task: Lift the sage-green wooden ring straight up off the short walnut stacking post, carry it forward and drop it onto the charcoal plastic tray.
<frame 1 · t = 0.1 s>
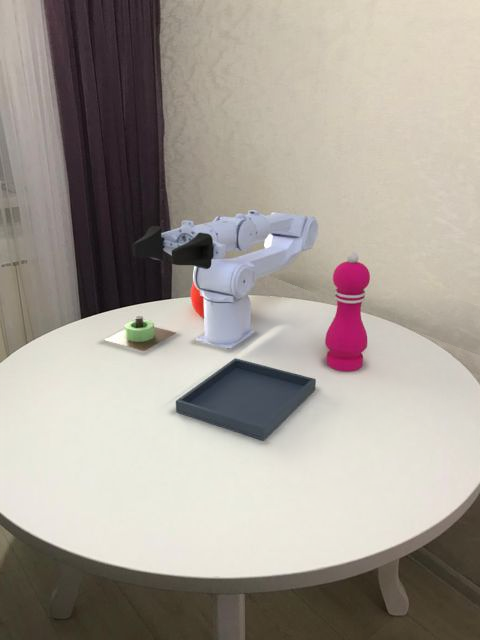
hand: (153, 254, 90), 22 cm above the table, tool horizontal, fingers open, 7 cm apart
tomato: (217, 316, 125), on the table
pepper mill: (344, 364, 104), on the table
ring: (140, 336, 114), point 1 cm above the table, touching stand
tray: (247, 400, 92), on the table
stand: (140, 339, 114), on the table
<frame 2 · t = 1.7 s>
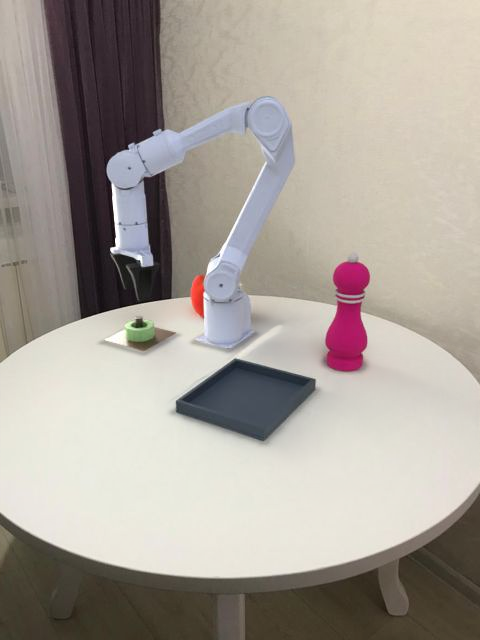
hand: (136, 294, 110), 9 cm above the table, tool pointing down, fingers open, 7 cm apart
nothing on the table moved.
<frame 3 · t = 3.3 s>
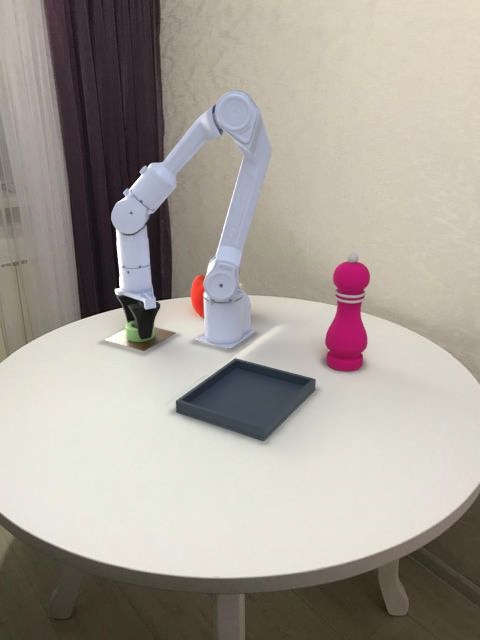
hand: (140, 332, 114), 1 cm above the table, tool pointing down, fingers closed on ring, 5 cm apart
ring: (140, 336, 114), point 1 cm above the table, touching gripper, stand
everything else where it was.
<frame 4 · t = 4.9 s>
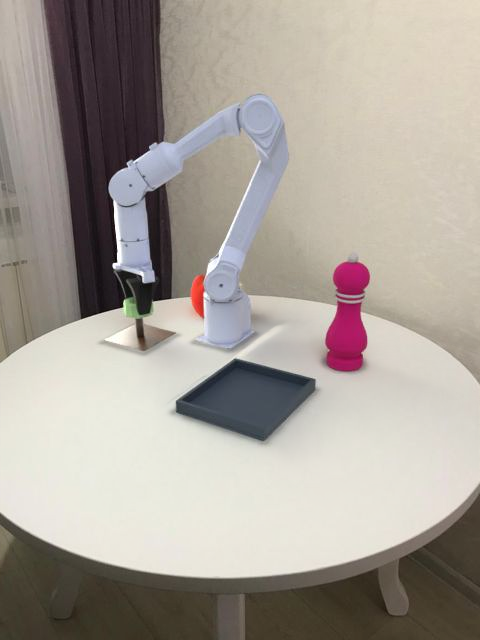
hand: (138, 308, 112), 6 cm above the table, tool pointing down, fingers closed on ring, 5 cm apart
ring: (139, 312, 112), point 5 cm above the table, touching gripper
everything else where it was.
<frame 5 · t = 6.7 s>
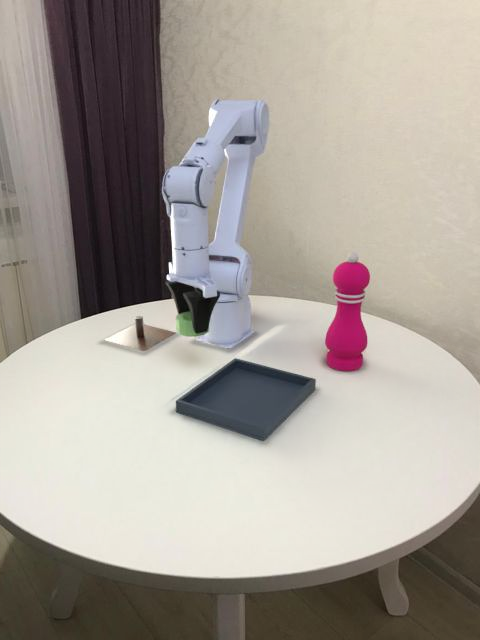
hand: (193, 325, 98), 8 cm above the table, tool pointing down, fingers closed on ring, 5 cm apart
ring: (193, 330, 99), point 8 cm above the table, touching gripper
everything else where it was.
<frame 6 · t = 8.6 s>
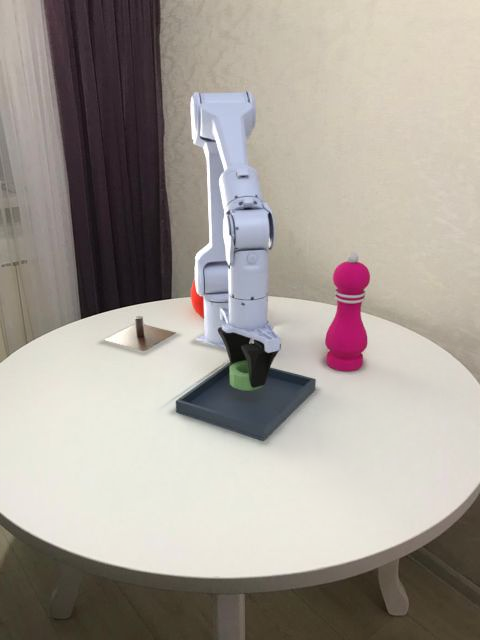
hand: (248, 377, 90), 4 cm above the table, tool pointing down, fingers closed on ring, 5 cm apart
ring: (247, 382, 91), point 3 cm above the table, touching gripper
everything else where it was.
when the fingers open (1 cm above the table, at t = 10.1 s): ring stays where it is, resting on tray.
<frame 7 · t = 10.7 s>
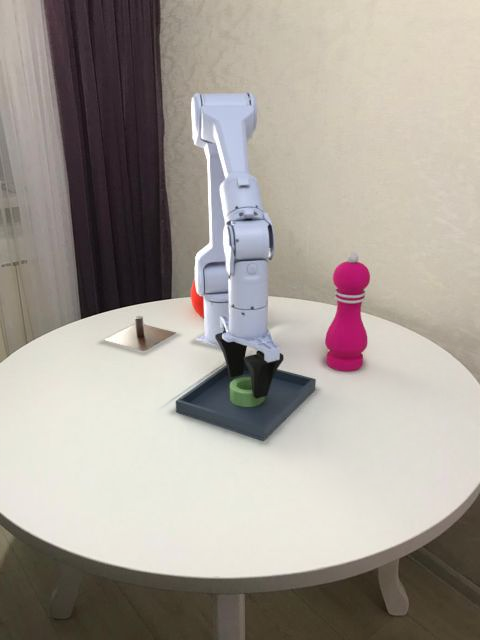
hand: (247, 385, 91), 3 cm above the table, tool pointing down, fingers open, 7 cm apart
ring: (247, 398, 92), resting on tray
everything else where it was.
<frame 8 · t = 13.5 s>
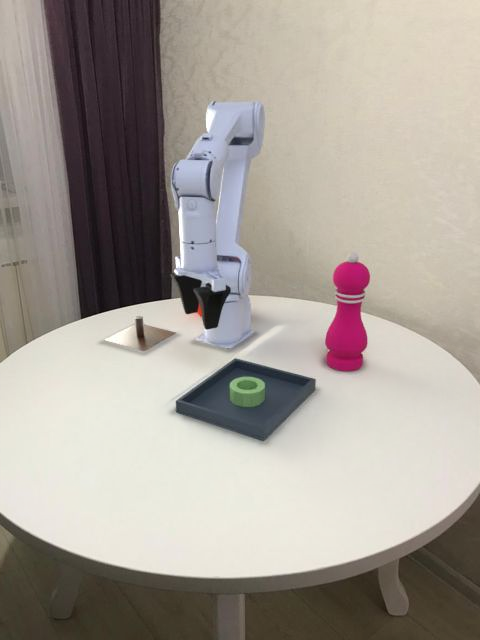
hand: (200, 320, 98), 9 cm above the table, tool pointing down, fingers open, 7 cm apart
nothing on the table moved.
at the end: ring inside the target area in the tray (0.2 cm from its centre), point 0.5 cm above the tray's base; the gripper is holding nothing; ring tilted 0° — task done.
